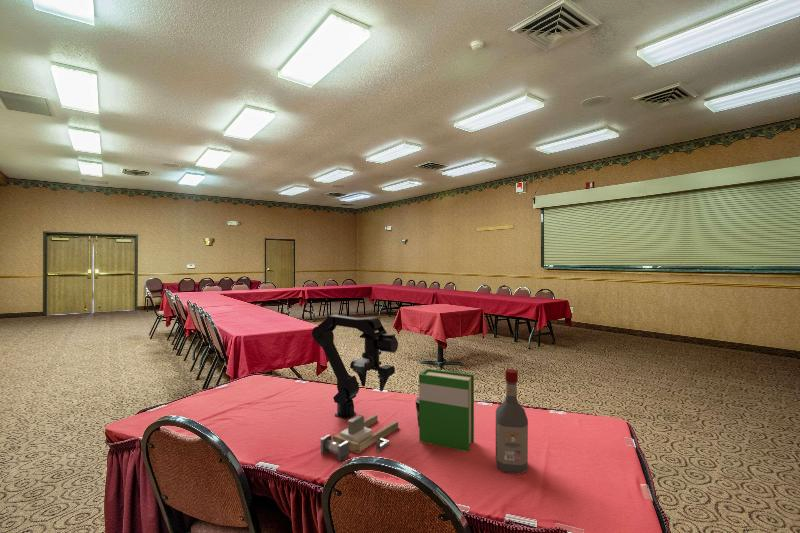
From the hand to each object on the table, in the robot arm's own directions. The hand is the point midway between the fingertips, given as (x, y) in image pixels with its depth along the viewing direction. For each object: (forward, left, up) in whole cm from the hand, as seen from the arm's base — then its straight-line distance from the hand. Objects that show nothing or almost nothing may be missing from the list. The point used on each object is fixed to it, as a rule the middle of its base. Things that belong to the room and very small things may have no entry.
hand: (372, 388), depth 154 cm
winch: (+6, -27, -13) cm, 30 cm away
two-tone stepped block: (+6, -16, -13) cm, 22 cm away
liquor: (+56, 0, -13) cm, 57 cm away
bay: (+6, -10, -13) cm, 17 cm away
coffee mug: (+19, +10, -13) cm, 25 cm away
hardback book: (+32, +2, -13) cm, 35 cm away
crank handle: (+14, -14, -13) cm, 24 cm away
